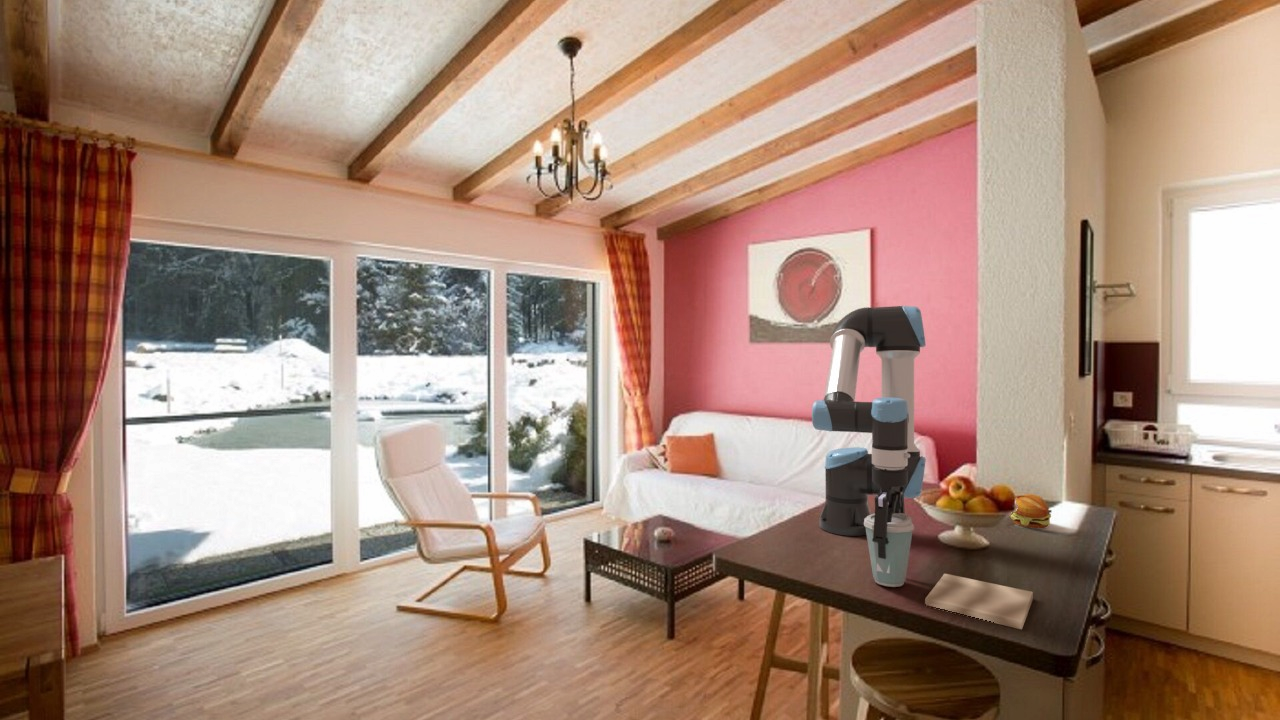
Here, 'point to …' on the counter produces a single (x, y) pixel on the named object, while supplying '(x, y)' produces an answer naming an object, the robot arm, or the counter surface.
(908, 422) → the robot arm
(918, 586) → the counter surface
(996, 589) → the birch board
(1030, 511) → the cheeseburger
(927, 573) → the counter surface
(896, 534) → the disposable coffee cup
